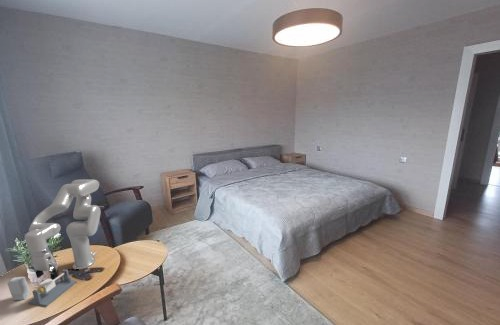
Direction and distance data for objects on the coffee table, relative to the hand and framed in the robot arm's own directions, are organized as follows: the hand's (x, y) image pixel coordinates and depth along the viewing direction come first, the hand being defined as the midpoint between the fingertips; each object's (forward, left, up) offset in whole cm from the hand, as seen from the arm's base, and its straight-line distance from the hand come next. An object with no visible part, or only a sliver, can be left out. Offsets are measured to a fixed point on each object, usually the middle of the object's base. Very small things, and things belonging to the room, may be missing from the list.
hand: (47, 277), depth 127 cm
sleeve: (+1, 0, -7) cm, 7 cm away
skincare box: (+5, -15, -12) cm, 19 cm away
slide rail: (-1, 0, -11) cm, 11 cm away
